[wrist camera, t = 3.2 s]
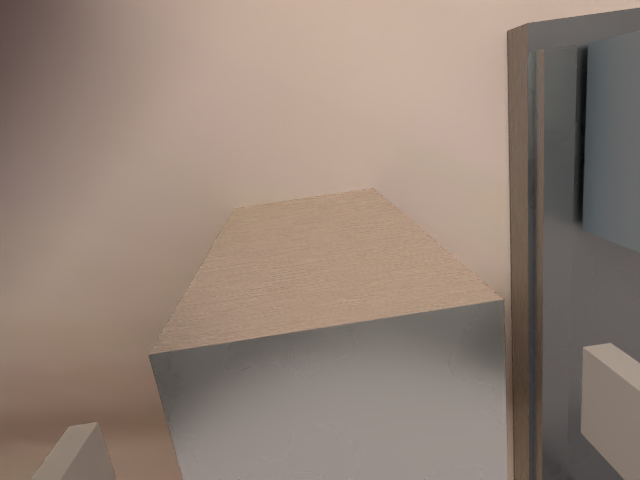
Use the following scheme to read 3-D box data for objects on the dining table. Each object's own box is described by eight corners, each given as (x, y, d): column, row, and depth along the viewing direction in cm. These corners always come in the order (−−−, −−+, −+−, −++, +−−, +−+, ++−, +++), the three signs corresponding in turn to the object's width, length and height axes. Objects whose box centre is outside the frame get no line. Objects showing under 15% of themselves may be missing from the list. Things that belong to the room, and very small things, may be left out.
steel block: (269, 389, 21) (247, 712, 10) (234, 208, 19) (149, 354, 7) (391, 369, 21) (511, 664, 10) (372, 188, 19) (503, 299, 7)
